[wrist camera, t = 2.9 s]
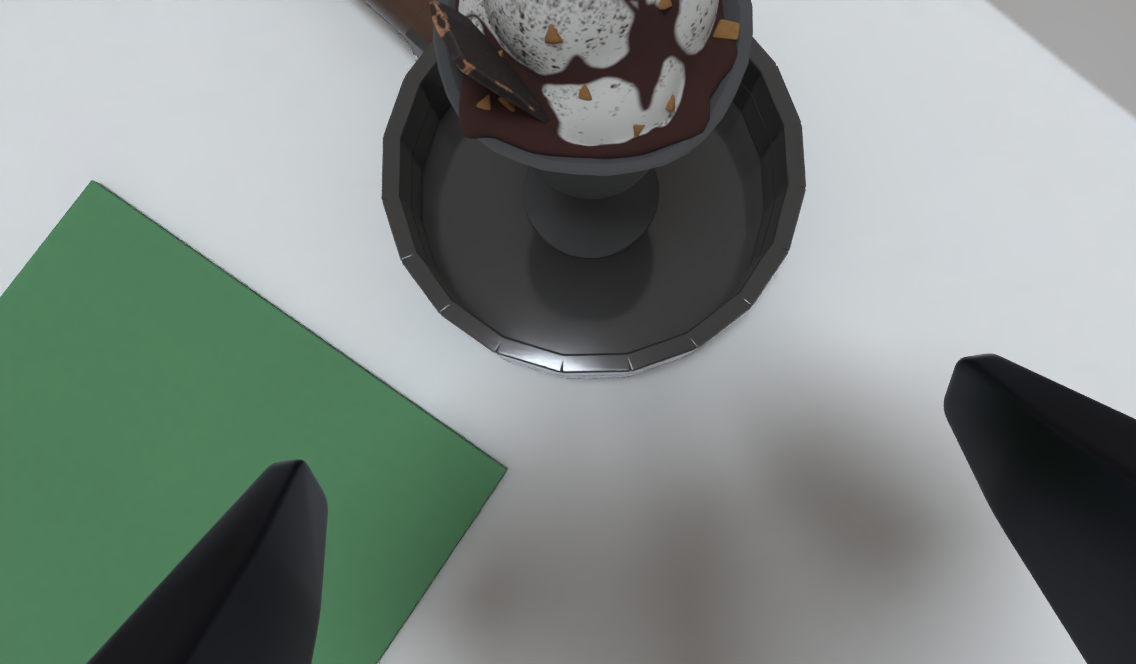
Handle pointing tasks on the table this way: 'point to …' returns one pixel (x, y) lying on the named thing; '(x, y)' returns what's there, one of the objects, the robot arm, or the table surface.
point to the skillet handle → (408, 20)
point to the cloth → (196, 442)
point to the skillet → (594, 285)
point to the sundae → (591, 99)
